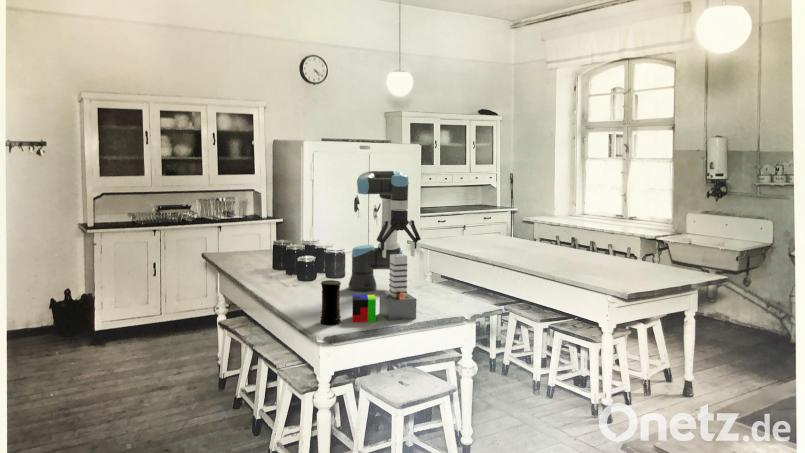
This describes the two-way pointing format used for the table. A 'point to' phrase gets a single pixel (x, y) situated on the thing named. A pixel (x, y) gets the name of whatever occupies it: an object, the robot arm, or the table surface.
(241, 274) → the table surface
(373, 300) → the puzzle toy
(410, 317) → the housing
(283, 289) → the table surface
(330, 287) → the container
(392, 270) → the column
